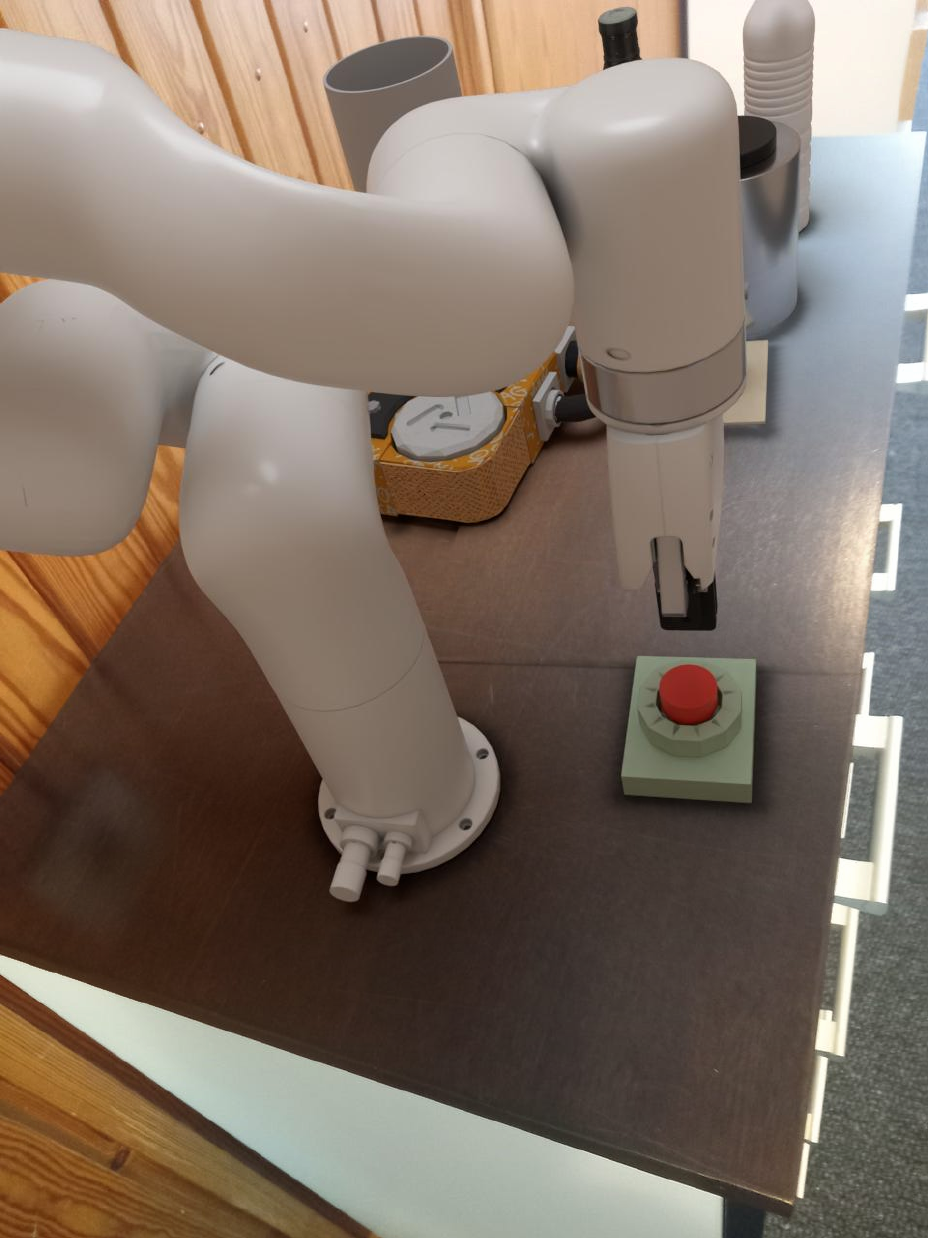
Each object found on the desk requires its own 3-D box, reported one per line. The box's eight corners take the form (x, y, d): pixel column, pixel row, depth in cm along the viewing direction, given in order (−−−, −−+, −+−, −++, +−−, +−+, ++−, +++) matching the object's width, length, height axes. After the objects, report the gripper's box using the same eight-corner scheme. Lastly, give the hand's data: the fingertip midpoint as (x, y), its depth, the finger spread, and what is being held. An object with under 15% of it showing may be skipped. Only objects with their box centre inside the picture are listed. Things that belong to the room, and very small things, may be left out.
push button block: (751, 803, 65) (751, 767, 62) (624, 795, 67) (618, 760, 64) (756, 679, 71) (755, 641, 68) (639, 675, 73) (634, 638, 71)
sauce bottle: (637, 177, 124) (620, -4, 110) (676, 188, 120) (664, 2, 106) (598, 201, 122) (576, 20, 108) (636, 214, 118) (619, 27, 104)
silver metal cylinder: (796, 342, 96) (801, 160, 83) (665, 350, 99) (651, 176, 87) (797, 263, 105) (801, 87, 92) (676, 272, 108) (665, 104, 96)
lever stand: (765, 432, 88) (765, 310, 80) (659, 435, 91) (648, 318, 82) (768, 350, 96) (768, 231, 87) (670, 356, 98) (661, 241, 90)
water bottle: (744, 214, 113) (740, -43, 95) (806, 205, 112) (814, -57, 94) (747, 254, 108) (744, -10, 90) (813, 246, 106) (823, -25, 88)
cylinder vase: (472, 336, 108) (414, 90, 90) (371, 328, 113) (298, 94, 96) (519, 272, 115) (474, 31, 97) (422, 268, 120) (362, 39, 102)
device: (349, 297, 102) (640, 308, 90) (372, 367, 108) (648, 387, 96) (230, 441, 90) (550, 477, 77) (263, 511, 96) (566, 556, 83)
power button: (716, 726, 65) (715, 709, 64) (658, 724, 66) (656, 707, 65) (719, 681, 67) (718, 664, 66) (663, 679, 68) (661, 663, 67)
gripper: (601, 278, 54) (638, 533, 67) (559, 467, 44) (611, 720, 57) (751, 264, 51) (759, 531, 64) (740, 460, 42) (751, 726, 55)
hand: (689, 620), depth 61 cm, fingers closed
